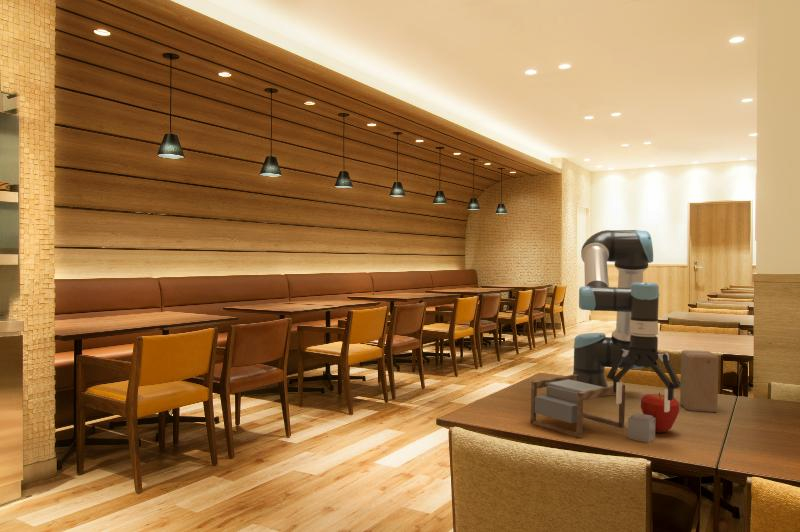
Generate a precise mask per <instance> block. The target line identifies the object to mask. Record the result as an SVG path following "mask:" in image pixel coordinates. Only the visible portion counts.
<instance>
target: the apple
mask: <svg viewBox="0 0 800 532" xmlns="http://www.w3.org/2000/svg"><path fill="white" fill-rule="evenodd" d="M664 401H665V394H661V393H660V391H659V392H658V394H656V393H648V394H644V395H643V397H641V399H640V409H641V411H642V414H645V415H651V416H653V417H654V418H656V425H655V433H666V432H668V431H669V430H671V429H672V427H674V426H673V425H674V424H675V422H676V421H677V418H678V415H679V413H680V401H678V400H677V399H676V398H675V397H674V399H673V400H672V401H670V411H668V412H664Z"/></svg>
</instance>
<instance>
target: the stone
mask: <svg viewBox="0 0 800 532" xmlns="http://www.w3.org/2000/svg"><path fill="white" fill-rule="evenodd" d="M655 425H656V418H654V417H653V416H651V415H645V414H643V413H634V414H632V415H631V416H629V417H628V418H627V439H630V440H634V441H639V442H643V443H648V444H649V443H650V442H652V441H653V440H654V439H655V438H656V432H655Z"/></svg>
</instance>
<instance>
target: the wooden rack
mask: <svg viewBox="0 0 800 532" xmlns="http://www.w3.org/2000/svg"><path fill="white" fill-rule="evenodd" d="M568 379H569V380H574V381H578V375H576V374H575V375H573V374H571V375H563V376H558V377H557V376H556V377H551V378H550V377H549V378H545V379H539V380H533V381H531V383H530V384H531V385H530V386H531V388H530V389H531V390H530V393H531V394H530V424H532V425H536V426H539V427H542V428H545V429H547V430H548V429H549V430H552V431H556V432H559V433H562V434H565V435H568V436H571V437H575V438H577V439H583V434H584V433H583V431H584V430H583V429H584V418H588V419H591V420H593V421H597V422H602V423H605V424H609V425H613V426H616V427H619V428H624V427H625V409H626V404H625V403H626V398H625V397H626V384H623V383H622V403H620V404H618V421H616V420H613V419H609V418H605V417H603V416H602V417H601V416H597V415H593V414H590V413H586V412H584V401H586V400H587V401H588V400H590V399H592V400H593V399H597V398H602V396H603V397H607V396H611V395H616V392H614V391H613V385H609V386H608V387H604V388H599V389H593V390H588V391H583V392H578V393H577V422H576V431H572V430H569V429H566V428H563V427H560V426H557V425H555V424H554V425H553V424H551V423H547V422H544V421H540V420H537V413H535V397H536V396H538V394H537V393H538V389H543V388H546V387H545V386H544V384H545V382H547V383H550V382H556V381H562V380H568Z"/></svg>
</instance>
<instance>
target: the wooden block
mask: <svg viewBox="0 0 800 532" xmlns="http://www.w3.org/2000/svg"><path fill="white" fill-rule="evenodd" d="M680 357H681V359H680V383H681V386H680V387H679V388H680V395H679V404H680V406H681V405H682V407H684V408H685V409H686V410H687V411H690V412H692V411H693V412H703V413H706V412H707V413H715V412H717V411H718V401H719V400H718V399H719V398H718V395H719V393H718V392H719V390H718V389H719V360H720V359H719V356H718V355H717V354H714V353H713V352H710V351H706V350H691V349H690V350H686V349H684V350H682V351H681V353H680Z"/></svg>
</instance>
